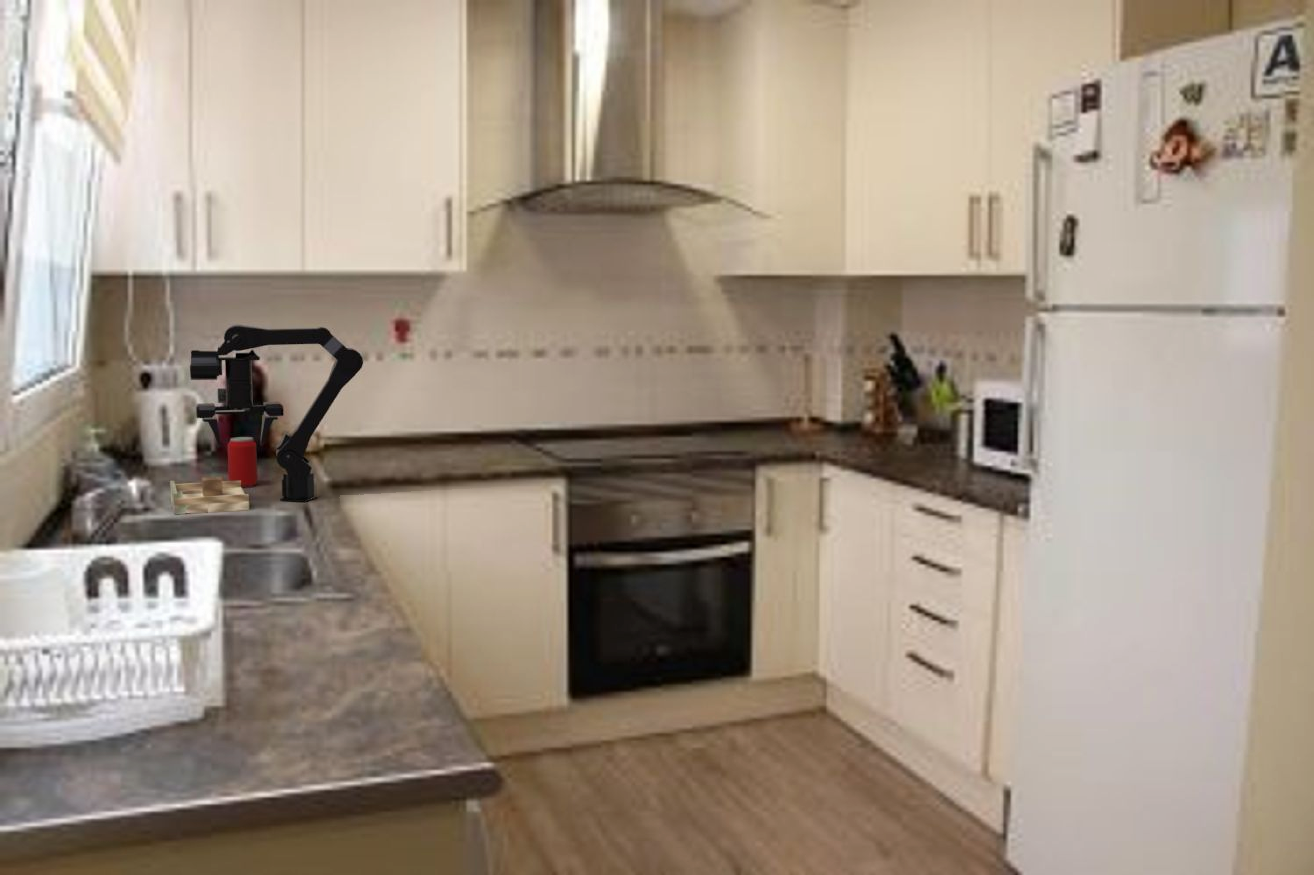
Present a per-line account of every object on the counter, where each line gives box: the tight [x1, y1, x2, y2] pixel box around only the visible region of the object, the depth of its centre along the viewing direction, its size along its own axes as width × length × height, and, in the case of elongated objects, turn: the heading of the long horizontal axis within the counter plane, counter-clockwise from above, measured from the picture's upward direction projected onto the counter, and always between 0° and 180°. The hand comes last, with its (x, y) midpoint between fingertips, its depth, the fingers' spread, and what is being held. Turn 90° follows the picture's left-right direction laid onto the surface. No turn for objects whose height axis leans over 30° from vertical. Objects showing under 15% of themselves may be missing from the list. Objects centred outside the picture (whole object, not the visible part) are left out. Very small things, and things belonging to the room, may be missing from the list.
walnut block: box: [201, 476, 223, 497], centre depth 258 cm, size 4×4×4 cm
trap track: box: [169, 480, 250, 515], centre depth 258 cm, size 16×19×4 cm
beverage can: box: [227, 436, 258, 488], centre depth 281 cm, size 7×7×12 cm
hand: (240, 446), depth 260 cm, fingers open, 9 cm apart
